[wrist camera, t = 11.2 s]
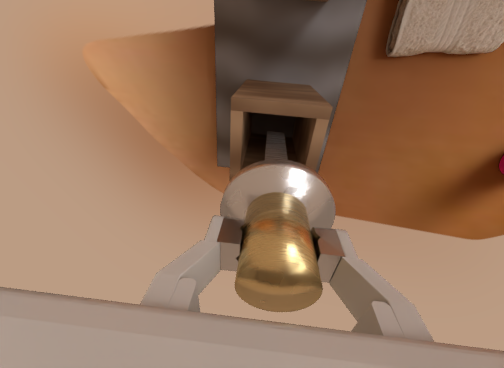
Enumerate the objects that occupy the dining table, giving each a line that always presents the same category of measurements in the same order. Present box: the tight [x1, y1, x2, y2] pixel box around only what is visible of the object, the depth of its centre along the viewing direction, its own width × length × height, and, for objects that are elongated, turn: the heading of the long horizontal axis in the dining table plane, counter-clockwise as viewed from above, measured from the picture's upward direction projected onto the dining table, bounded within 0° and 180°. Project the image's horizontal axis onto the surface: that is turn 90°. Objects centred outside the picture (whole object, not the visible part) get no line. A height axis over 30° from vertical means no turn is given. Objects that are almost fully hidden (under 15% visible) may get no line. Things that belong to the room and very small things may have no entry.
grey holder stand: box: [214, 0, 367, 180], centre depth 20 cm, size 34×16×14 cm, turn 176°
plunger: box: [220, 131, 335, 312], centre depth 14 cm, size 6×6×15 cm
